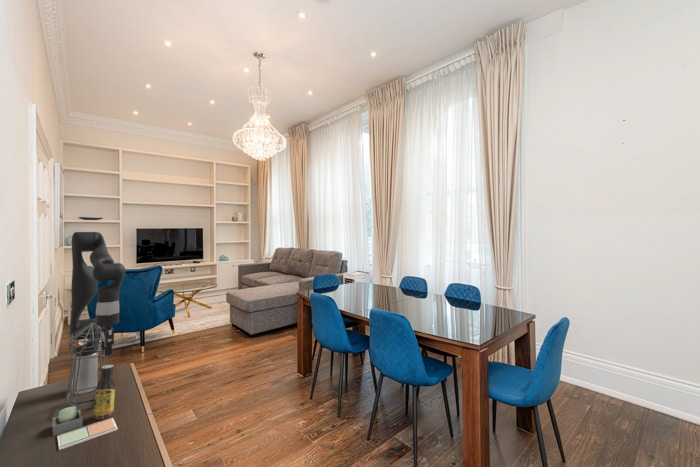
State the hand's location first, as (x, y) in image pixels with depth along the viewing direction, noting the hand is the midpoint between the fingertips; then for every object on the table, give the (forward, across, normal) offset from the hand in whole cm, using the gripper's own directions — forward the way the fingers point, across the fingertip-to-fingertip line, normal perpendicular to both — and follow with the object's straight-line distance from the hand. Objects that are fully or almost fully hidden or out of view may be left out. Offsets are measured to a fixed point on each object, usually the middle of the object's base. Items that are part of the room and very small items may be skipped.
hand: (106, 352), depth 125 cm
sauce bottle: (+26, 0, 0) cm, 26 cm away
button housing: (+26, -1, -11) cm, 28 cm away
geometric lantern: (+26, -16, -3) cm, 30 cm away
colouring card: (+26, +10, -6) cm, 28 cm away
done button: (+23, -1, -11) cm, 26 cm away
